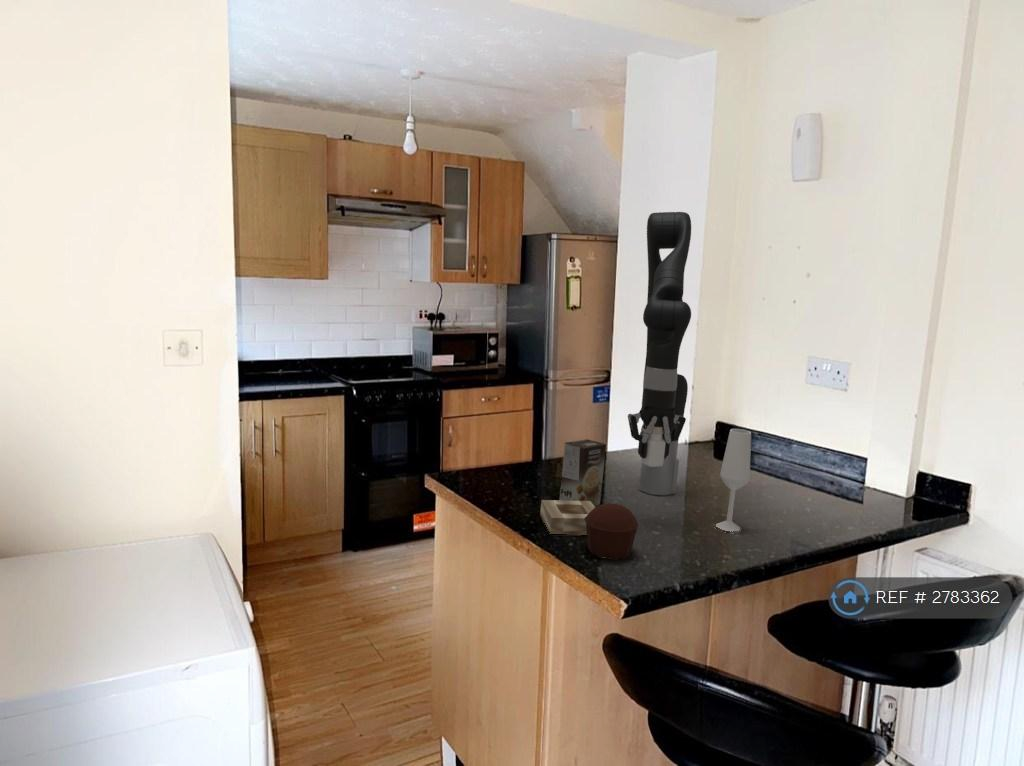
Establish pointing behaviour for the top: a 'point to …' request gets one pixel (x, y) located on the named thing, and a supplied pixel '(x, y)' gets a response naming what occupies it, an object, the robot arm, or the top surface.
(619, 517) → the muffin
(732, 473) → the champagne flute
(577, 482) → the coffee box
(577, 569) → the top surface
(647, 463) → the pepper shaker
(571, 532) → the birch holder
